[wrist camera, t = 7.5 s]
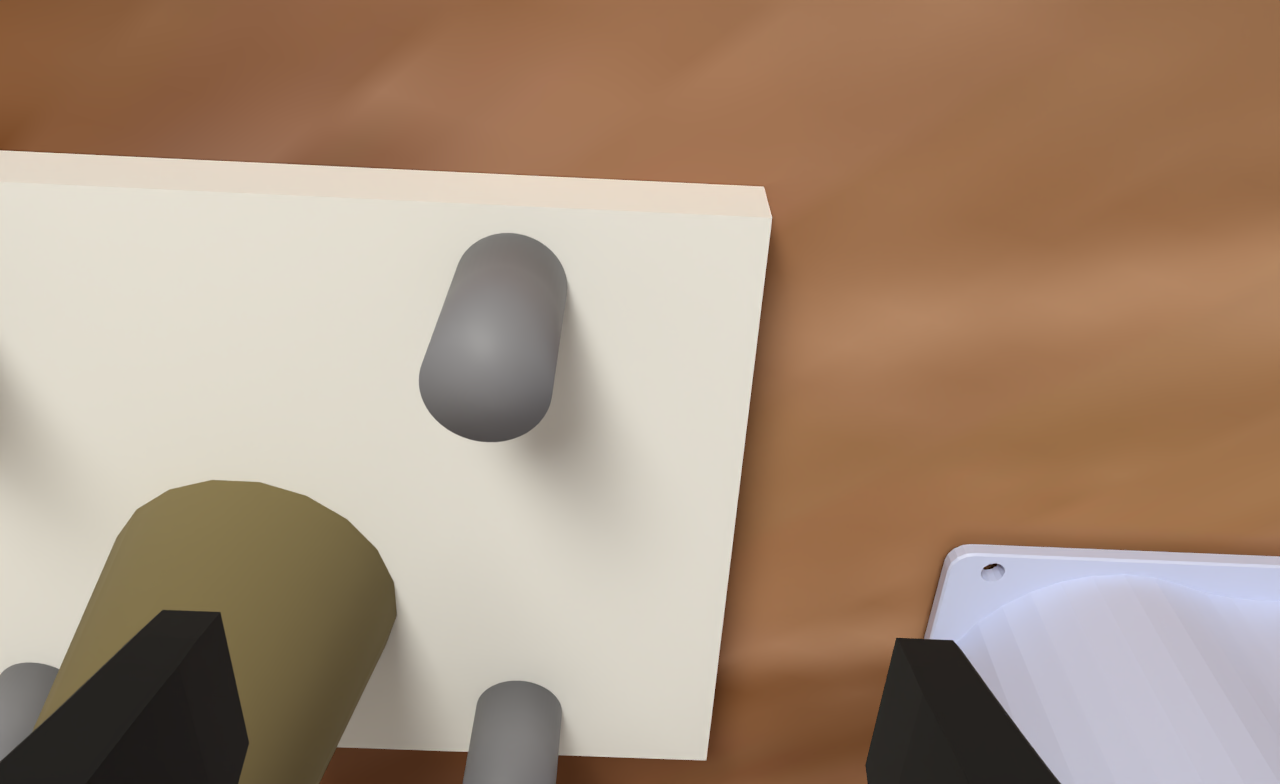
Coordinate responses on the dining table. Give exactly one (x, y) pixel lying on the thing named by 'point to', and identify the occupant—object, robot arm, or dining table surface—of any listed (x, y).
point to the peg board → (399, 422)
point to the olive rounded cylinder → (251, 611)
